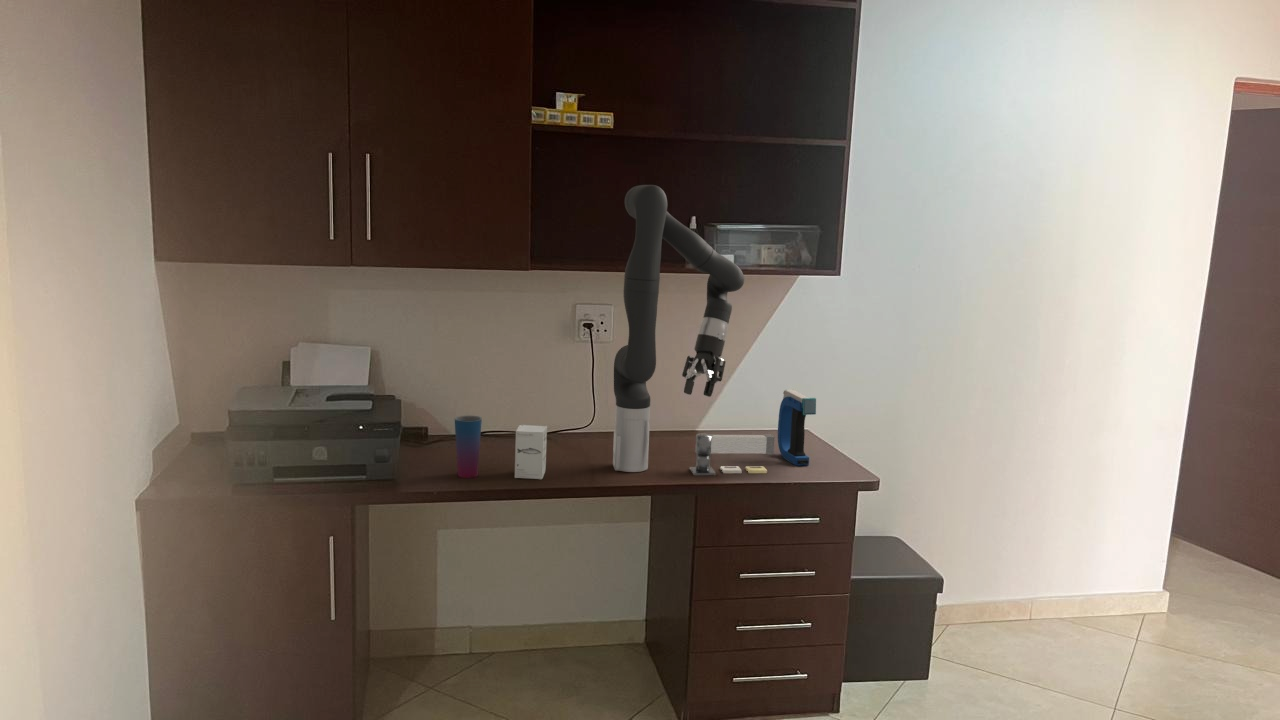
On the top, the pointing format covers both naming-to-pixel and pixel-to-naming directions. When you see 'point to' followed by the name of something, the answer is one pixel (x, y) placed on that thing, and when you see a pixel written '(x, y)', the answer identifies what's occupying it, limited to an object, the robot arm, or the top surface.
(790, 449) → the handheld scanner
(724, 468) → the label plate
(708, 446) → the bar
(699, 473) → the gray square plate
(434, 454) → the top surface
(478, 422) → the cup
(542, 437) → the supplement box
